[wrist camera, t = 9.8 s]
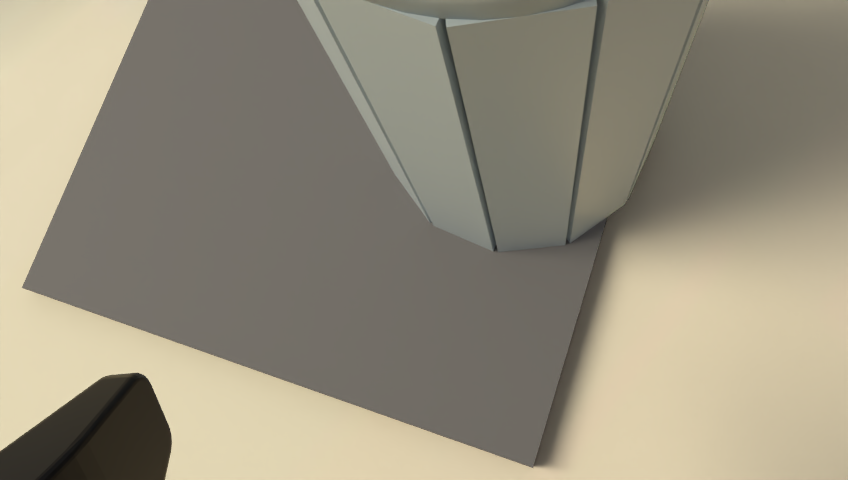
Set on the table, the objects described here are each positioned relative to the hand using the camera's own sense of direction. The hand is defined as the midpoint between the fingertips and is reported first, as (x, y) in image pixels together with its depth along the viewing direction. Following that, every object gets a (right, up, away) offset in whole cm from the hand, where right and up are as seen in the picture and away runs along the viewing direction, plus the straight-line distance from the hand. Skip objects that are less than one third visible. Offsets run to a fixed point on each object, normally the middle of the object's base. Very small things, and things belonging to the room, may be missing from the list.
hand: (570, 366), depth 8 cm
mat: (-4, +4, +14) cm, 15 cm away
